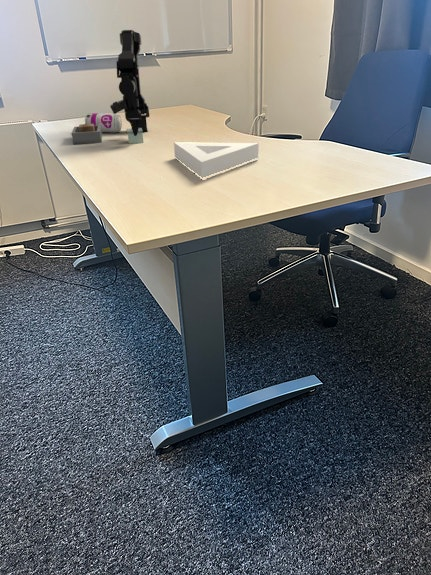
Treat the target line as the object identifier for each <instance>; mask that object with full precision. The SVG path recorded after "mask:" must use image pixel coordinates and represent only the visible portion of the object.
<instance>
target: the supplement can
mask: <svg viewBox="0 0 431 575" xmlns="http://www.w3.org/2000/svg"><path fill="white" fill-rule="evenodd" d="M84 124H94V126H95V125H101V130H102V133H113V134H114V133H118V132H121V131H122V128H123V124H122V118H121V115H120V114H118V113H116V114H114V113H113V112H112V113H105V112H102V113H101V112H100V113H97V112H96V113H87V114H86V115H85V118H84Z"/></svg>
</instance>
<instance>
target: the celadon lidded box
mask: <svg viewBox="0 0 431 575" xmlns="http://www.w3.org/2000/svg"><path fill="white" fill-rule="evenodd" d="M126 133H127V138H128V144H129V145H130V144H132V145H133V144H143V143H144V136H143V135H144V132H143V131H142V128H139V129H138V133H137V136H134V134H133V130H132V127H131V128H126Z"/></svg>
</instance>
